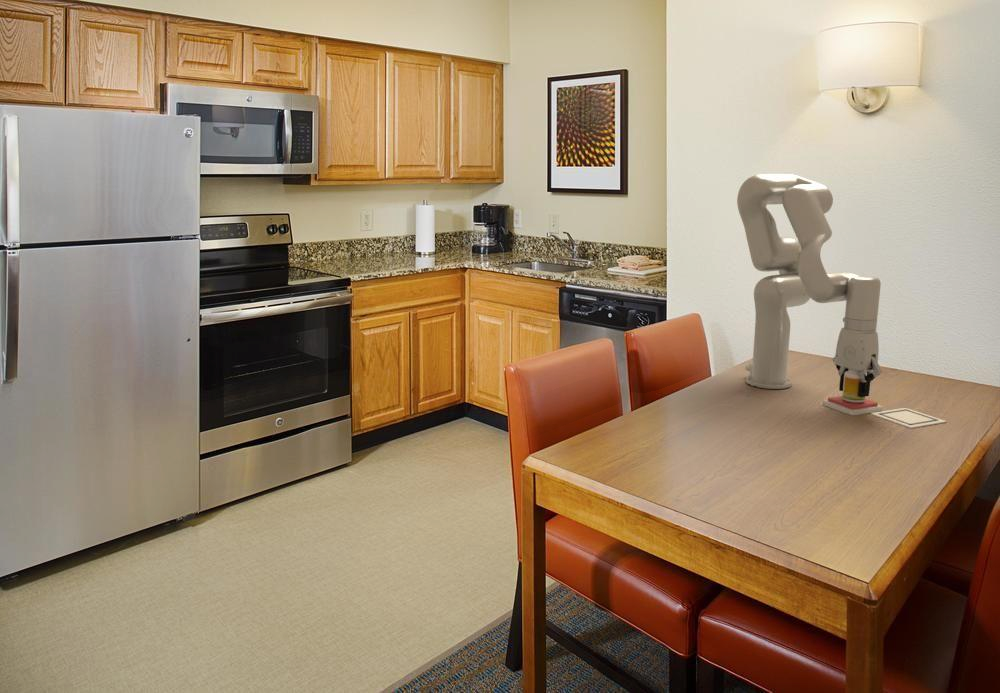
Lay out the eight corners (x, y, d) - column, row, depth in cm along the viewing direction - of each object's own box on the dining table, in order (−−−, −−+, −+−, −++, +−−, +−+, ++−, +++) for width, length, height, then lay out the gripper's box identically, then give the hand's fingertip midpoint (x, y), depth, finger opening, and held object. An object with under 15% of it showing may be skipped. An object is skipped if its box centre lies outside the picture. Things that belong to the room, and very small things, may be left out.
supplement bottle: (867, 403, 198) (870, 366, 196) (844, 402, 199) (847, 365, 197) (861, 397, 203) (865, 361, 201) (840, 396, 204) (843, 361, 202)
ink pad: (822, 404, 204) (823, 397, 204) (851, 400, 208) (852, 393, 208) (852, 415, 195) (853, 407, 195) (881, 410, 199) (882, 403, 199)
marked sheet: (870, 414, 196) (870, 412, 196) (905, 408, 201) (905, 407, 201) (910, 428, 185) (911, 426, 185) (946, 422, 190) (946, 420, 190)
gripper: (823, 320, 203) (817, 386, 207) (876, 332, 188) (869, 403, 192) (845, 318, 206) (839, 383, 210) (899, 329, 190) (892, 400, 194)
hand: (853, 392), depth 201 cm, fingers closed on supplement bottle, 5 cm apart
